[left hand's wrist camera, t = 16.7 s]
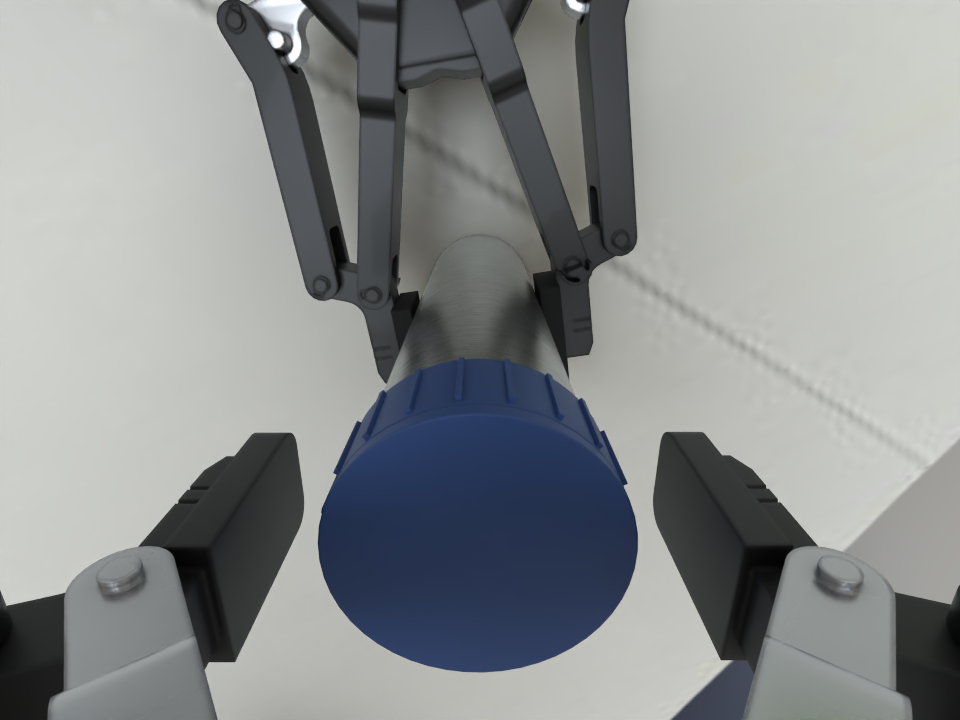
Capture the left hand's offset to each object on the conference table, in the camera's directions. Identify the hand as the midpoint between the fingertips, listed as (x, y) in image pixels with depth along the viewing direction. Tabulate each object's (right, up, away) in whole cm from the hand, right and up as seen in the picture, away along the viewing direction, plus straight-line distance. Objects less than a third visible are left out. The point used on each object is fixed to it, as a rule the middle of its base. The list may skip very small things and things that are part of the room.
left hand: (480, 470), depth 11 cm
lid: (0, -1, -2) cm, 2 cm away
